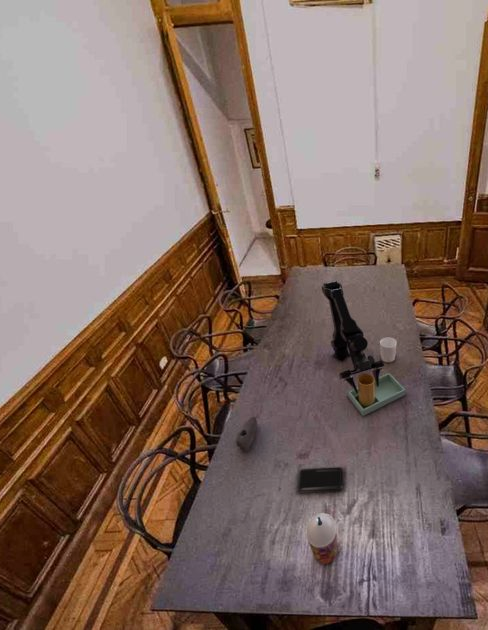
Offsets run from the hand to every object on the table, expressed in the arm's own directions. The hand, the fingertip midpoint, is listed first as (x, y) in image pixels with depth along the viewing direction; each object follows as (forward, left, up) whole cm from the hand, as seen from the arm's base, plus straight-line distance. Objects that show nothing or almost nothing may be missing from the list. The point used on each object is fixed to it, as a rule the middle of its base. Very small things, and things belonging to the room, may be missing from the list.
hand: (367, 390), depth 140 cm
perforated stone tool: (-26, -42, -8) cm, 50 cm away
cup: (-1, +1, -7) cm, 7 cm away
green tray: (+1, +5, -8) cm, 10 cm away
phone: (+8, -37, -8) cm, 39 cm away
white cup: (-9, +29, -8) cm, 31 cm away
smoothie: (+24, -52, -8) cm, 58 cm away
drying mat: (-1, +1, -7) cm, 8 cm away
